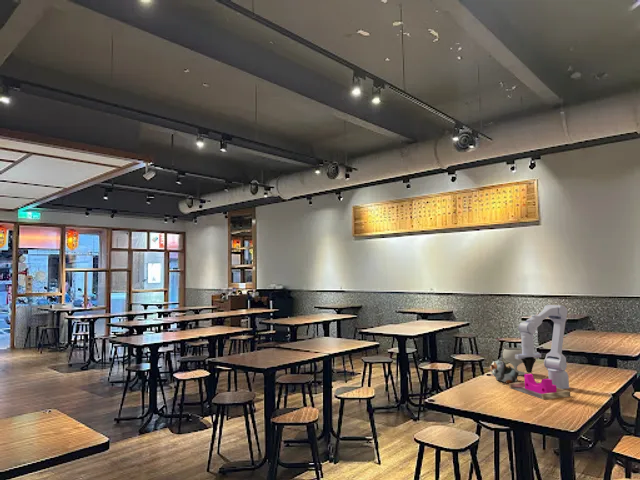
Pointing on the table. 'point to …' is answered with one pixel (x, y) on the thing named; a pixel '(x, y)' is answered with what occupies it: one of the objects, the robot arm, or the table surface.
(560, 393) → the wooden board
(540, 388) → the toy block
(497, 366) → the grey plush toy
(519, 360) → the chalice
